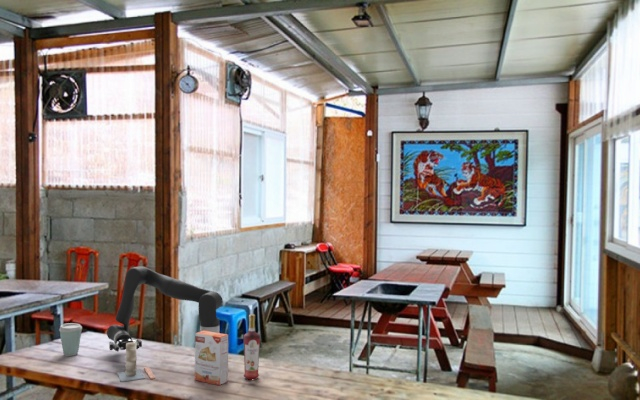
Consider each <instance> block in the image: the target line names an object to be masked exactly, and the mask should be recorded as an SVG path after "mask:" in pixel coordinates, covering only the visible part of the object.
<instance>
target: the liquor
mask: <svg viewBox="0 0 640 400" xmlns="http://www.w3.org/2000/svg"><path fill="white" fill-rule="evenodd" d="M248 321H249V323H248V324H249V325H248V332H246V333H245V334H244V335H243V355H244V357H243V359H244V361H243V362H244V364H243V365H244V374H243V377H244V379H246V380H247V379H249V380H248V381H253V380H252V379H255V380H257V378H259V377H260V374H259V364H260V363H259V359H260V348H261V344H260V343H261V334H259V333H258V332H256V324H255V321H256V314H249V315H248Z"/></svg>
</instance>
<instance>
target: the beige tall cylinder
mask: <svg viewBox="0 0 640 400" xmlns="http://www.w3.org/2000/svg"><path fill="white" fill-rule="evenodd" d="M136 344H137V343H135V342H130V343H126V349H125V372H126V376H127V377H132V376H135V375H136V370H137V349H136Z"/></svg>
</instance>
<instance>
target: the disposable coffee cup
mask: <svg viewBox="0 0 640 400" xmlns="http://www.w3.org/2000/svg"><path fill="white" fill-rule="evenodd" d="M82 330H83V326H82V325H81V324H80V323H76V322H75V323H73V322H70V323H69V322H68V323H63V324H61V325H60V326H59V328H58V331H59V335H60V336H59V337H60V340H61V341H60V342H61V349H62V352H63V355H64V356H65V357H71V356H77V355H78V353H79V349H80V344H81V343H80V342H81V337H82Z"/></svg>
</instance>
